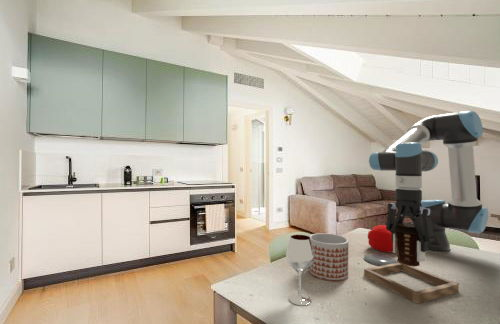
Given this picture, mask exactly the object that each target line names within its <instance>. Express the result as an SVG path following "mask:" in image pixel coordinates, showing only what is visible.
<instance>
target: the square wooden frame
mask: <svg viewBox="0 0 500 324" xmlns="http://www.w3.org/2000/svg"><path fill="white" fill-rule="evenodd" d="M398 272H405V273H407V274H409V275H412V276H415V277H416V278H419V279H422V280H424V281H425V282H428V283H430V284H432V285H436V286H432V287H430V288H429V287H427V288H425V289H421V290H414V289H411V288H409V287H407V286H405V285H403V284H401V283H399V282H397V281H395V280H393V279H391V278H388V277H387V276H384V275H387V274H388V275H389V274H392V273H398ZM363 276H364V277H365V278H367V279H369V280H371V281H373V282H375V283H377V284H379V285H380V286H383V287H384V288H387V289H388V290H390V291H392V292H394V293H396V294H397V295H400V296H401V297H403V298H405V299H408V300H410V301H411V302H414V303H416V304H421V303H426V302H429V301H433V300H435V299H439V298H443V297H446V296H450V295H453V294H458V293H459V290H460V289H459V286H460V285H459V283H456V282H454V281H452V280H449V279H446V278H444V277H441V276H439V275H436V274H434V273H431V272H428V271H425V270H423V269H421V268H417V267H416V266H415V267H413V266H406V265H402V264H400V263H394V264H388V265H383V266H378V265H376V266H373V267H368V268H367V267H366V268H364V269H363Z"/></svg>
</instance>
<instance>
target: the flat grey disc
mask: <svg viewBox="0 0 500 324" xmlns="http://www.w3.org/2000/svg"><path fill="white" fill-rule="evenodd" d="M363 259H364V261H366V262H367V263H370V264H371V265H373V266H374V265H375V266H383V265H388V264H394V263H398V261H397V260H398V258H397V259H396V258H395V257H392V256H390V255H389V256H388V255H385V254H380V253H379V254H378V253H368V254H364V256H363Z"/></svg>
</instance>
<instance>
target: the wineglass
mask: <svg viewBox="0 0 500 324" xmlns="http://www.w3.org/2000/svg"><path fill="white" fill-rule="evenodd" d="M309 236H310V235H305V234H292V235H290V237H289V240H288V245H287V248H286V253H285V258H286V261H287V263H288V264H289V266H290V267H291V268H292V269H293V270H294V271H295V272H296V273H297V275H298V293H297V292H296V293H292V294H289V296H288V301H289V302H290V303H291V304H293V305H296V306H300V307H301V306H302V307H304V306H308V305H310V304H311V302H312V299H311V297H310V296H308V294H307V295H306V294H305V293H302V275H303V274H304V273H305V272H306V271H309V268H310V267H311V266H312V265H313V263H314V260H315V255H314V250H313V246H312V242H311V238H310V237H309Z"/></svg>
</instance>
